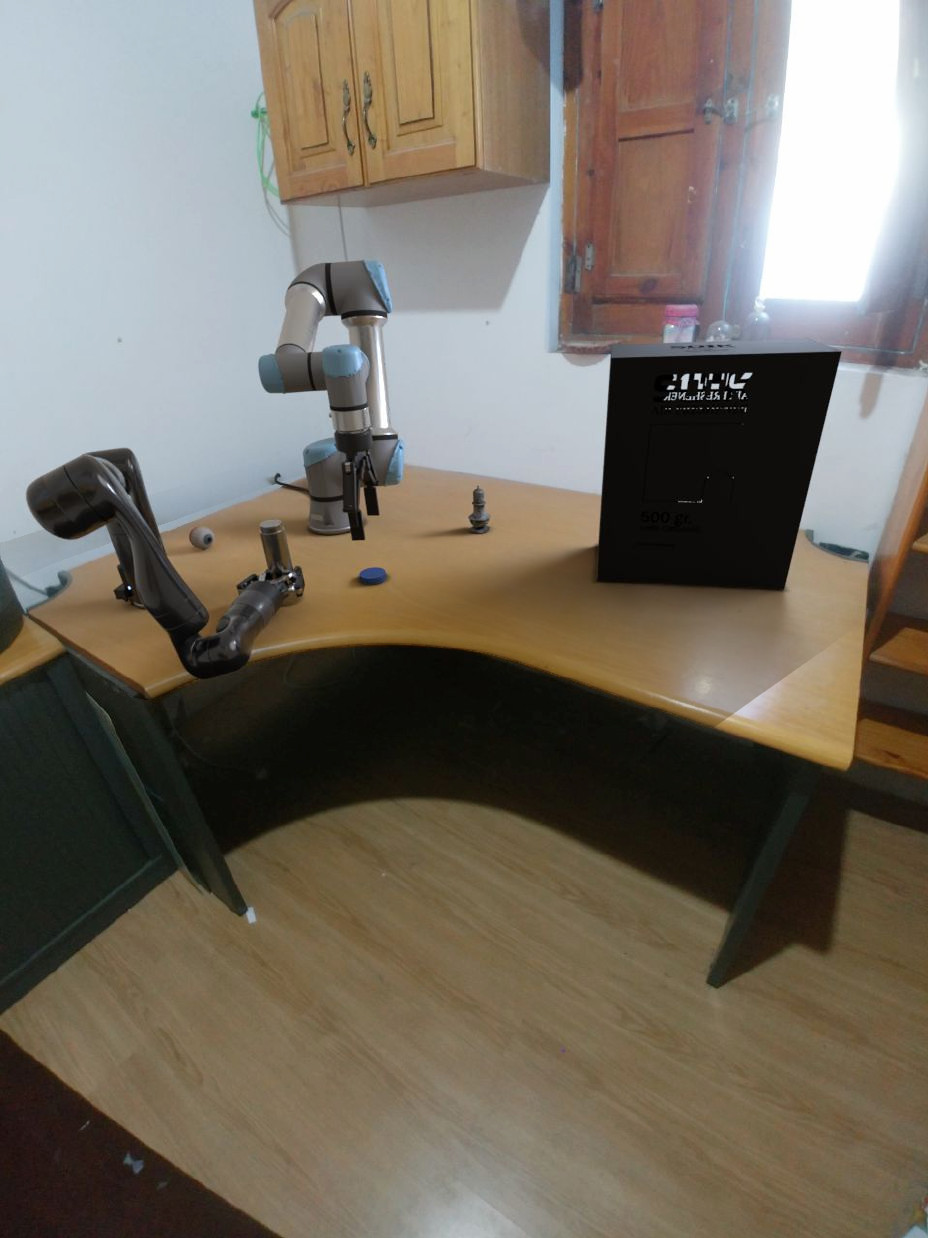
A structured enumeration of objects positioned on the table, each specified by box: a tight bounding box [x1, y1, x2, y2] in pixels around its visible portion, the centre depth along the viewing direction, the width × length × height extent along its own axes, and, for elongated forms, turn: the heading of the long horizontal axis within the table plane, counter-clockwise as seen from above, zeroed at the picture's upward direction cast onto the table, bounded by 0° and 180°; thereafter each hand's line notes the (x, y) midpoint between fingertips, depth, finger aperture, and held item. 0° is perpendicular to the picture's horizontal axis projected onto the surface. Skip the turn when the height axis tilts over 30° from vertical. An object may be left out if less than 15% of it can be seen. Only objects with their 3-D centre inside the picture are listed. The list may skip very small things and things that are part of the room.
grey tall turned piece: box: [467, 485, 491, 534], centre depth 158 cm, size 6×6×12 cm
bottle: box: [258, 519, 300, 606], centre depth 127 cm, size 5×5×18 cm
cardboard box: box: [596, 337, 842, 591], centre depth 125 cm, size 38×20×45 cm, turn 78°
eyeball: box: [188, 525, 215, 550], centre depth 158 cm, size 6×6×6 cm
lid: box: [358, 566, 387, 586], centre depth 138 cm, size 6×6×2 cm
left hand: (286, 569), depth 131 cm, fingers closed on bottle, 5 cm apart
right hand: (366, 527), depth 133 cm, fingers open, 13 cm apart
